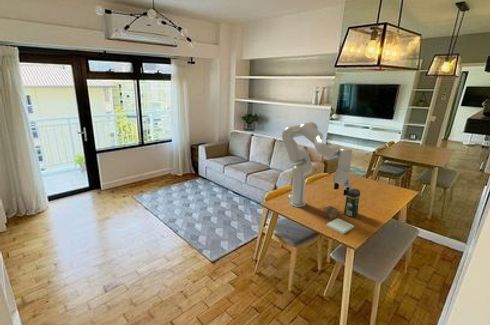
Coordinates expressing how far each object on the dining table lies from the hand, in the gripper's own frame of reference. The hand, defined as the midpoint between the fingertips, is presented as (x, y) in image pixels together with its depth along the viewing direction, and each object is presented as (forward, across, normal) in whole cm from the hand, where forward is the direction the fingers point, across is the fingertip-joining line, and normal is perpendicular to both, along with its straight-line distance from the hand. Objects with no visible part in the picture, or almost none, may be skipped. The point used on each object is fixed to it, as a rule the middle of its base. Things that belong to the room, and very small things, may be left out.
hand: (340, 192), depth 167 cm
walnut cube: (+21, -6, -1) cm, 22 cm away
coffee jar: (+21, -5, +14) cm, 26 cm away
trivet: (+21, +8, -3) cm, 22 cm away
